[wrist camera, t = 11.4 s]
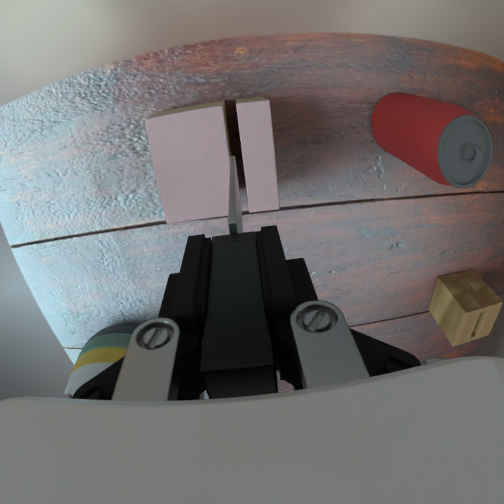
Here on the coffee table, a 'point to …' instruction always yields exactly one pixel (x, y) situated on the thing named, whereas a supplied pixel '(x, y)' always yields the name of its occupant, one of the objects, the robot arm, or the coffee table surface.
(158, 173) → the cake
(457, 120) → the beer can
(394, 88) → the coffee table surface
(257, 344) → the knife
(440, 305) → the knife block
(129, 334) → the vase
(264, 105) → the cake slice
